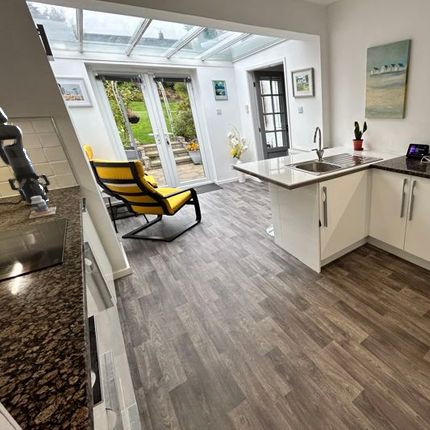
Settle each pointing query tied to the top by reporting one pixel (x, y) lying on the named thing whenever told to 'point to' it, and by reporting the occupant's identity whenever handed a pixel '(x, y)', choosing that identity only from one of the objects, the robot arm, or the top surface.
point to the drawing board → (35, 215)
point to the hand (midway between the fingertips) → (36, 195)
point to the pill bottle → (39, 204)
